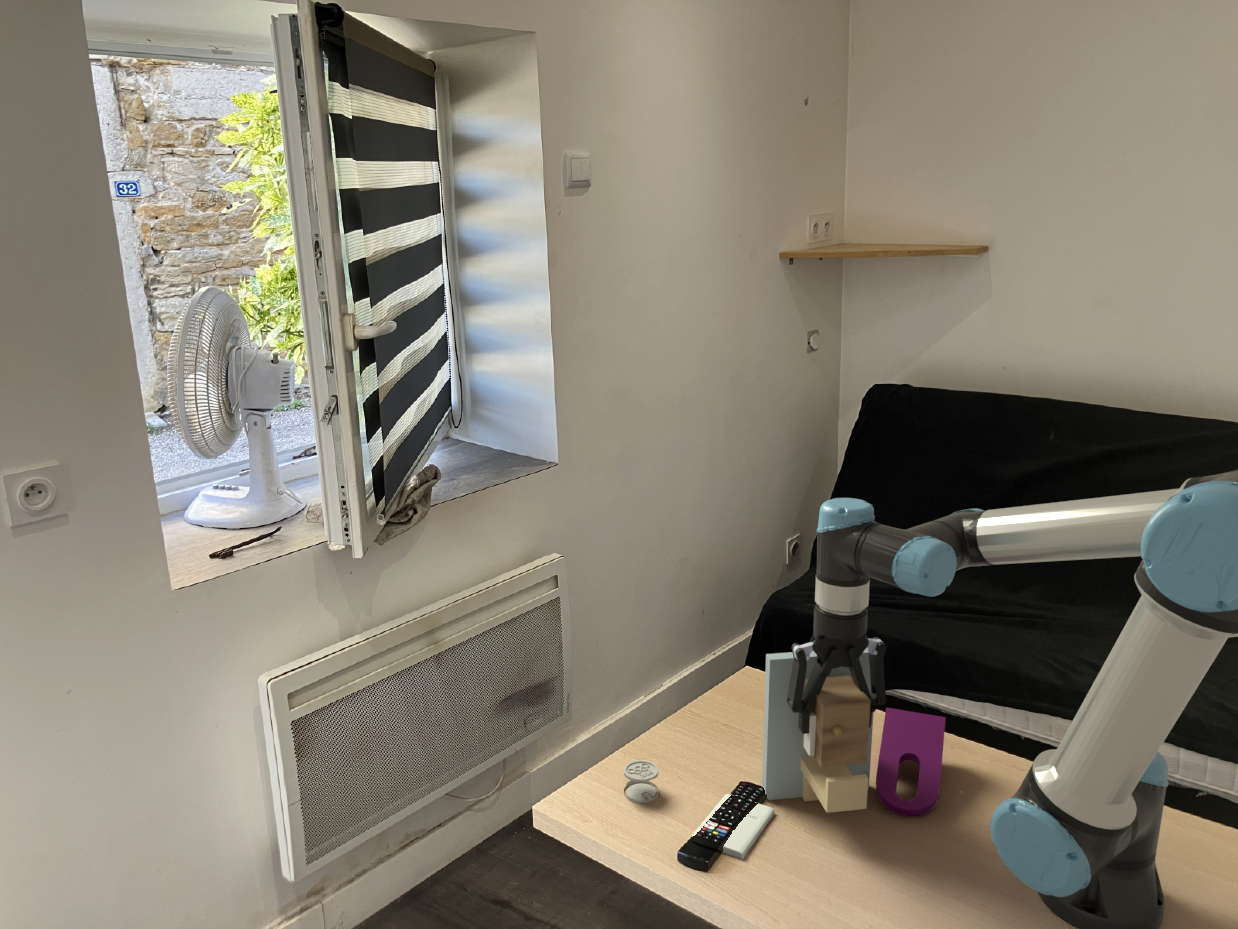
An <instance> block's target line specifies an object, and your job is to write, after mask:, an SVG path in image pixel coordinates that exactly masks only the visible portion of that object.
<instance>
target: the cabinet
mask: <svg viewBox="0 0 1238 929" xmlns="http://www.w3.org/2000/svg"><path fill="white" fill-rule="evenodd" d="M807 682H808V679H805V685H804V689H805V687H806V684H807ZM870 702H871V700H870V699H869V698H868V697H867V696H866V695H865V693H864V692H863V691H860V690H859V689H858V688H857V687H856V685H855V684H854V682H853V679H852V678H851V677H850V676H849V675H847V676H835V677H826V680H825V682H824V684H823V687H822V689H821V691H820V694H819V695H817V701H816V703H815V705H814V708H813V710H812V711H813V712H814V713H815V715H816V732H815V754H814V758H815V759H816V761H817V762H818V764H819V765H820V767H830V766H840V765H851V764H861V763H867V752H868V735H869V719H870ZM802 739H803V741H804V734H802Z"/></svg>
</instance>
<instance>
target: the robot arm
mask: <svg viewBox="0 0 1238 929" xmlns="http://www.w3.org/2000/svg"><path fill="white" fill-rule="evenodd" d="M874 513H875V509H874V506H873V504H871V503H869V502H868V501H866V500H863V499H859V498H853V497H835V498H832V499H828V500H826V501H824V502H823V503H822V504H821V505H820V508H819V513H818V524H817V529H816V539H817V540H816V571H815V572H816V574H815V585H814V586H815V589H814V590H815V591H814V603H816V604H815V605H814V607H813V634H812V637H811V638H810V641H809V642H806V643H803V644H799V643H797V642H794V643H793V644H792V645H791V650H792V651H791V652H793V657H794V660H793V666H792V672H791V678H790V684H789V690H788V696H787V704H788V705H789V707H790V708H791V710H792V711H793V712H794V713H797V712H799V725H798V726H799V729H800V730H801V732H802V734H804V744H803V747H804V748H805V750H806V751H807V753H808V755H809V756H814V754H815V732H816V715H815V713H814V712H813V711H812V710H813V708H814V705H815V703H816V701H817V695H819V694H820V691H821V689H822V687H823V684H824V682H825V680H826V677H827V676H828V675H830V673H831V670H832V669H833V668H838V667H849V670H850V673H851V676H852V679H853V682H854V684H855V685H856V687H857V688H858V689H859V690H860V691H863V692H864V693H865V695H866V696H867V697H868V698H869V699H870V700H871V702H870V719H869V728H870V727H871V722H872V713H873V714H874V713H875V712H876V710H877V707H876V706H878V705H879V706H884V705H885V704H886V700H887V699H886V698H887V697H886V683H885V668H884V665H885V664H884V657H885V654H886V650H887V644H885V642H883V641H882V640H881V638H880V637H878V636H875V637H873V638H869V637H868V636H867V631H868V616H869V615H868V614H869V610H868V609H867V607H869V601H870V582H871V579H874V580H875V581H876V580H877V581H879V582H881V583H884V584H888V585H889V586H893V587H896V588H898V589H901V590H903V591H905V592H907V593H911V594H918V595H922V596H924V597H925V596H926V597H936V596H939V595H942V594H943V593H944V592H945V590H946V589H947V587H949V586H950V585H951V583H952V582H953V579H954V577H955V574H956V572H957V571H959V570H962V569H964V568H969V567H970V568H971V567H982V566H995V565H996V566H997V565H1009V564H1011V565H1012V564H1026V563H1027V564H1028V563H1044V562H1046V563H1047V562H1061V561H1078V560H1080V561H1081V560H1095V559H1097V560H1098V559H1113V558H1132V557H1133V558H1134V557H1141V559H1142V560H1141V562H1140V563H1139V565H1138V567H1137V569H1136V570H1135V573H1134V576H1133V577H1134V578H1133V579H1134V582H1135V585H1136V587H1137V589H1138V591H1139V593H1140V594H1141V596H1140V597H1139V599H1138V601H1137V603H1136V605H1135V607H1134V608H1133V610H1132V612H1131V614H1130V616H1129V617H1128V619H1127V620H1126V623H1125V625H1124V627H1123V628H1122V630H1121V631H1120V634H1119V636H1118V638H1117V639H1116V642H1115V643H1114V645H1113V646H1112V649H1111V651H1110V653H1109V654H1108V656H1107V658H1106V660H1105V661H1104V663H1103V664H1102V667H1101V668H1100V671H1099V672H1098V674H1097V675H1096V678H1095V679H1094V680H1093V683H1092V685H1091V687H1090V689H1089V690H1088V692H1087V694H1086V695H1085V697H1084V699H1083V702H1082V703H1081V705H1080V706H1079V708H1078V710H1077V712H1076V714H1075V715H1074V717H1073V719H1072V721H1071V723H1070V725H1069V727H1068V729H1067V731H1066V732H1065V734H1064V736H1063V738H1062V739H1061V741H1060V743H1059V745H1058V746H1057V748H1056V749H1055V748H1054V749H1047V750H1044V751H1042V752H1040V753H1039V754H1038V755H1037V756H1036V758H1035V759H1034V760H1033V763H1032V765H1031V766H1030V768H1029V769H1028V772H1027V773H1026V775H1025V777H1024V779H1023V780H1022V782H1021V784H1020V786H1019V788H1018V789H1017V791H1016V792H1015V793H1014V794H1013V795H1012V796H1011V797H1009V798H1007V799H1004V800H1002V801H1001V803H999V805H998V807H997V808H996V809H995V810H994V812H993V814H992V815H991V819H990V835H991V840H992V843H993V845H994V846H995V848H996V849H997V854H998V856H999V858H1000V859H1001V861H1002V862H1003V863H1004V865H1005V866H1006V867H1007V870H1009V871H1010V872H1011V873H1012V874H1013V875H1014V877H1016V878H1017V879H1018V880H1019V881H1020V882H1021V883H1023V884H1024V885H1026V886H1027V887H1028V888H1030V889H1032V890H1034V891H1036V892H1037V893H1038V895H1039V897H1040V899H1041V901H1043V903H1044V904H1045V905H1046V906H1047V907H1048V908H1049V909H1050V910H1051V912H1053V913H1054V914H1055V915H1057V917H1059V918H1061V919H1062V920H1064V921H1065V922H1067V923H1069V924H1070V925H1072V926H1074V927H1077V928H1079V929H1160V927H1161V925H1162V923H1163V920H1164V912H1165V906H1166V903H1165V897H1164V893H1163V888H1162V884H1161V880H1160V876H1159V872H1158V868H1157V864H1156V859H1157V858H1156V856H1157V852H1158V851H1157V850H1158V845H1159V838H1160V831H1161V825H1162V819H1163V812H1164V804H1165V800H1166V799H1165V798H1166V792H1167V787H1168V786H1169V783H1170V782H1169V780H1168V775H1169V774H1168V773H1169V765H1168V762H1167V759H1165V757H1164V755H1163V754H1162V753H1161V752H1159V750H1160V748H1161V747H1162V745H1163V743H1164V742H1165V740H1166V739H1167V738H1168V735H1170V733H1171V730H1172V729H1173V728H1174V726H1175V725H1176V722H1177V721H1178V719H1179V718H1180V716H1181V715H1182V713H1183V711H1184V710H1185V708H1186V707H1187V705H1188V703H1189V702H1190V700H1191V698H1192V697H1193V695H1194V694H1195V692H1196V690H1197V689H1198V687H1199V685H1200V684H1201V682H1202V680H1203V679H1204V678H1205V676H1206V674H1207V672H1208V671H1209V669H1210V667H1211V666H1212V664H1213V663H1214V661H1215V660H1216V659H1217V656H1219V653H1220V651H1221V650H1222V648H1223V647H1224V645H1225V644H1226V641H1227V640H1228V639H1229V638H1235V637H1236V638H1238V469H1235V470H1231V471H1228V472H1222V473H1218V474H1213V475H1206V476H1205V475H1204V476H1197V477H1190V478H1187V479H1186V480H1185V481H1184V482H1183V483H1182V484H1181V486H1180V487H1179V488H1171V489H1165V490H1164V489H1163V490H1154V491H1145V492H1135V493H1129V494H1119V495H1110V496H1109V495H1108V496H1102V497H1093V498H1083V499H1074V500H1067V501H1058V502H1049V503H1038V504H1030V505H1022V506H1012V507H1004V508H995V509H987V510H983V509H981V508H968V509H963V510H958V511H957V510H956V511H954V512H952V513H951V514H949V515H946V516H942V517H941V518H937V519H935V520H931V521H927V522H925V523H922V524H919V525H915V526H912V527H910V528H907V529H902V528H897V527H894V526H893V527H892V526H890V525H886V524H883V523H880V522H877V521H875V518H876V516H875V514H874ZM866 648H867V650H868V651H869V665H870V680H871V694H870V692H869V689H868V686H867V683H866V681H865V678H864V675H863V672H862V666H861V663H860V661H859V657H860V656H861V655H862V653H863V652H864V651H865V649H866ZM812 651H814V652H815V653H816V655H817V656H816V659H815V661H814V668H813V670H812V672H811V675H810V677H809V679H808V682H807V684H806V687H805V689H804V691H803V688H804V682H805V676H806V670H807V660H809V657H810V653H811V652H812Z"/></svg>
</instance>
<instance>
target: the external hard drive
mask: <svg viewBox="0 0 1238 929" xmlns="http://www.w3.org/2000/svg"><path fill="white" fill-rule="evenodd" d="M731 795H732V794H730V793H726V794H724V796H723V797H722V798H721V799H720V801H719V802H718V803H717V804H716V805H715V807H714V808H713V809H712V810H711V812H710V813H709V814H708V815H707V817H706V818H705V819H703V821H702V823H701V824H700V825H699V826H698V827H697V829H696V830H695V831H694V832H693V833H692V834H691V836H690V838H691V837H693V836H695V835H696V834H697V832H699V831H700V830H701V828H703V826H704V825H706V822H707V821H708V820H709V819H710V818H712V816H713V814H715V811H717V810H718V809H719V808H720V807H721V805H722V804H723V803H724V802H725V801H726V800H727V799H728V798H729V797H730V796H731ZM757 803H758V802H757ZM774 815H775V809H774V808H773V807H770V806H768V805H765V804H762V803H758V804H757V805H756V806H755V807H754V808H753V809H752V810H751V811H750V812H749V814H747V815H746V817H744V818H743V820H742V821H741V822H740V823H739V824H738V826H737V827H736V829H735V830H733V831H732V834H731V835H730V837H729V838H728V840H727V841H726V843H725V844H724V846H723V852H722V854H726V855H729V856H732V857H734V858H737V859H740V860H743V859H744V858H745V856H746V855H747V854H748V852H749V851H750V849H751V848H752V846H753V845H754V844H755V843H756V840H757V839H758V838H759V837H760V835H761V833H762V832H763V831H764V829H765V827H766V826H768V824H769V823H770V821H771V819H772V818H773V817H774Z"/></svg>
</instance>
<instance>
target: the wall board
mask: <svg viewBox="0 0 1238 929" xmlns="http://www.w3.org/2000/svg"><path fill="white" fill-rule="evenodd" d="M816 656H817V655H816V653H815V652H814V651H812V652H811V653H810V657H809V660H807V670H806V676H805V679H809V677H810V675H811V672H812V670H813V668H814V661H815V659H816ZM793 660H794V657H793V652H792V651H791V652H790V651H789V652H775V653H766V654H765V679H764V680H765V681H764V706H763V707H764V710H763V713H764V714H763V715H764V717H763V742H762V743H763V744H762V745H763V746H762V747H763V748H762V772H761V774H762V775H761V776H762V780H761V782H762V783H761V788H762V787H763V788H764V790H765V794H766V795H767V799H768V800H767V801H774V800H785V799H786V798H787V799H796V798H802V799H803V801H804V802H811V801H813V802H814V801H819V802H820V804H821V806H822V807H823V809H824V810H825V812H826V814H827V813H836V812H845V811H847V812H848V811H849V812H850V811H858V810H866V809H867V804H868V791H870V789H869V788H870V773H871V758H872V746H873V745H872V742H873V727H874V726H873V725H874V712H873V713H872V722H871V727H870V728H869V735H868V752H867V763H861V764H851V765H840V766H830V767H820V765H819V764H818V762H817V761H816V759H815V758H814V756H809V755H808V753H807V751H806V750H805V748H804V747H803V744H804V741H803V739H802V732H801V730H800V729H799V726H798V725H799V712H797V713H794V712H793V711H792V710H791V708H790V707H789V705H788V704H787V696H788V690H789V684H790V678H791V672H792V666H793ZM859 661H860V663H861V666H862V672H863V675H864V678H865V681H866V683H867V686H868V689H869V692H870V694H871V680H870V665H869V651H868V650H867V648H866V649H865V651H864V652H863V653H862V655H861V656H860V657H859ZM847 675H849V676H850V677H851V678H852V676H851V673H850V670H849V667H838V668H833V669H832V670H831V673H830V675H828V676H827V677H835V676H847ZM804 685H805V682H804ZM803 691H804V688H803Z"/></svg>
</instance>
